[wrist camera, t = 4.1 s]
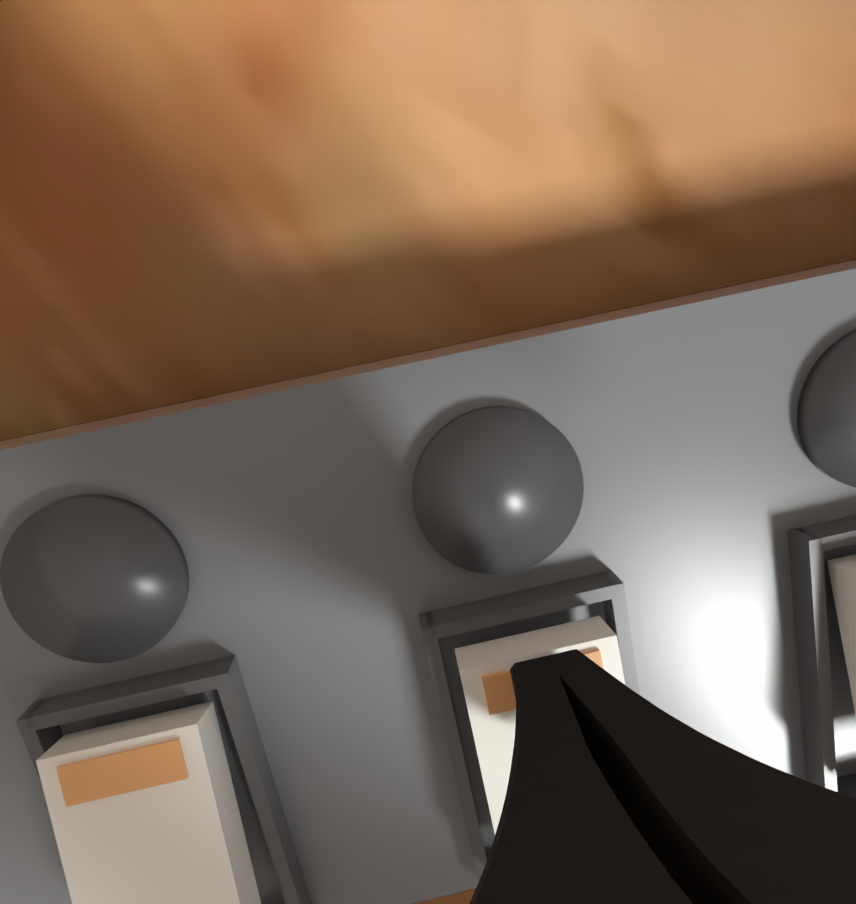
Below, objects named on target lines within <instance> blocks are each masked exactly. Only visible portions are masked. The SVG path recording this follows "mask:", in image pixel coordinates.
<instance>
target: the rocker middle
mask: <svg viewBox="0 0 856 904" xmlns="http://www.w3.org/2000/svg"><path fill="white" fill-rule="evenodd" d="M574 649H577V650H579V651H580V652H581V653H583V654H584V655H586V656H587V657H588V658H590V659H591V660H592V661H594V662H595V663H596V664H597V665H599V666H600V667H601V668H603V669H604V670H605V671H607V672H608V673H609V674H611V675H612V676H614V677H615V678H616V679H618V680H619V681H620V682H622V683H623V684H625V680H624V674H623V669H622V663H621V657H620V652H619V646H618V641H617V635H616V634H615V633H614V632H613V631H612V629H611V628H610V627H609V626H608V625H607V624H606V623H605V621H604V620H603V619H602V618H601V617H600V616H595V617H591V618H587V619H582V620H578V621H573V622H569V623H565V624H560V625H556V626H552V627H547V628H543V629H538V630H534V631H530V632H525V633H521V634H517V635H512V636H508V637H503V638H499V639H495V640H490V641H486V642H482V643H477V644H473V645H468V646H464V647H460V648H455V649H454V650H455V654H456V659H457V664H458V668H459V673H460V677H461V682H462V687H463V691H464V696H465V700H466V705H467V710H468V714H469V719H470V723H471V728H472V733H473V737H474V742H475V746H476V751H477V756H478V760H479V765H480V770H481V774H482V779H483V783H484V788H485V793H486V797H487V802H488V806H489V811H490V816H491V820H492V825H493V829H494V834H496V831H497V827H498V824H499V820H500V817H501V813H502V809H503V805H504V800H505V796H506V792H507V787H508V781H509V776H510V770H511V763H512V755H513V748H514V740H515V722H516V699H515V694H514V689H513V684H512V678H511V673H510V669H511V667H512V666H513V665H514V663H517V662H521V661H526V660H530V659H535V658H539V657H543V656H548V655H552V654H556V653H561V652H565V651H569V650H574Z"/></svg>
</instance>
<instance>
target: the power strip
mask: <svg viewBox="0 0 856 904" xmlns="http://www.w3.org/2000/svg"><path fill="white" fill-rule="evenodd" d="M854 554H856V260H852V261H848V262H843V263H838V264H833V265H829V266H824V267H819V268H815V269H810V270H805V271H800V272H796V273H791V274H786V275H782V276H777V277H772V278H767V279H763V280H758V281H753V282H749V283H744V284H739V285H734V286H730V287H725V288H720V289H716V290H711V291H706V292H701V293H697V294H692V295H687V296H683V297H678V298H673V299H668V300H664V301H659V302H654V303H650V304H645V305H640V306H635V307H631V308H626V309H621V310H617V311H612V312H607V313H602V314H598V315H593V316H588V317H584V318H579V319H574V320H570V321H565V322H560V323H555V324H551V325H546V326H541V327H537V328H532V329H527V330H522V331H518V332H513V333H508V334H504V335H499V336H494V337H489V338H485V339H480V340H475V341H471V342H466V343H461V344H456V345H452V346H447V347H442V348H438V349H433V350H428V351H423V352H419V353H414V354H409V355H405V356H400V357H395V358H390V359H386V360H381V361H376V362H372V363H367V364H362V365H357V366H353V367H348V368H343V369H339V370H334V371H329V372H324V373H320V374H315V375H310V376H306V377H301V378H296V379H291V380H287V381H282V382H277V383H273V384H268V385H263V386H259V387H254V388H249V389H244V390H240V391H235V392H230V393H226V394H221V395H216V396H211V397H207V398H202V399H197V400H193V401H188V402H183V403H178V404H174V405H169V406H164V407H160V408H155V409H150V410H145V411H141V412H136V413H131V414H127V415H122V416H117V417H112V418H108V419H103V420H98V421H94V422H89V423H84V424H79V425H75V426H70V427H65V428H61V429H56V430H51V431H46V432H42V433H37V434H32V435H28V436H23V437H18V438H13V439H9V440H4V441H0V904H72V901H71V897H70V893H69V889H68V885H67V881H66V877H65V873H64V869H63V866H62V862H61V858H60V854H59V850H58V846H57V842H56V838H55V834H54V830H53V826H52V822H51V818H50V814H49V810H48V806H47V803H46V799H45V795H44V791H43V787H42V783H41V779H40V775H39V771H38V767H37V763H36V760H37V759H38V758H40V757H41V756H42V755H43V754H44V753H45V752H46V751H47V750H48V749H49V748H51V747H52V746H53V745H54V744H55V743H56V742H57V741H58V740H59V739H61V738H62V737H63V736H64V735H66V734H70V733H75V732H79V731H84V730H88V729H92V728H97V727H101V726H105V725H110V724H114V723H119V722H123V721H127V720H132V719H136V718H140V717H145V716H149V715H154V714H158V713H162V712H167V711H171V710H175V709H180V708H184V707H189V706H193V705H197V704H202V703H206V702H210V701H213V703H214V707H215V712H216V716H217V720H218V724H219V728H220V733H221V737H222V741H223V745H224V749H225V754H226V758H227V762H228V766H229V770H230V775H231V779H232V783H233V787H234V791H235V796H236V800H237V804H238V808H239V812H240V817H241V821H242V825H243V829H244V833H245V838H246V842H247V846H248V850H249V854H250V859H251V863H252V867H253V871H254V875H255V879H256V884H257V888H258V892H259V896H260V900H261V904H414V903H418V902H422V901H426V900H430V899H434V898H438V897H443V896H447V895H451V894H455V893H459V892H463V891H467V890H471V889H476V887H477V885H478V882H479V880H480V877H481V875H482V873H483V870H484V868H485V865H486V862H487V859H488V856H489V853H490V850H491V847H492V844H493V841H494V837H495V834H494V829H493V825H492V820H491V816H490V811H489V806H488V802H487V797H486V793H485V788H484V783H483V779H482V774H481V770H480V765H479V760H478V756H477V751H476V746H475V742H474V737H473V733H472V728H471V723H470V719H469V714H468V710H467V705H466V700H465V696H464V691H463V687H462V682H461V677H460V673H459V668H458V664H457V659H456V654H455V650H454V649H455V648H460V647H464V646H468V645H473V644H477V643H482V642H486V641H490V640H495V639H499V638H503V637H508V636H512V635H517V634H521V633H525V632H530V631H534V630H538V629H543V628H547V627H552V626H556V625H560V624H565V623H569V622H573V621H578V620H582V619H587V618H591V617H595V616H600V617H601V618H602V619H603V620H604V621H605V623H606V624H607V625H608V626H609V627H610V628H611V629H612V631H613V632H614V633H615V634H616V635H617V641H618V646H619V652H620V657H621V663H622V669H623V674H624V680H625V685H626V686H627V687H629V688H630V689H632V690H633V691H634V692H636V693H637V694H639V695H640V696H642V697H643V698H645V699H646V700H648V701H649V702H651V703H652V704H654V705H655V706H657V707H658V708H660V709H661V710H663V711H665V712H666V713H668V714H669V715H671V716H673V717H674V718H676V719H678V720H680V721H681V722H683V723H685V724H686V725H688V726H690V727H691V728H693V729H695V730H697V731H698V732H700V733H702V734H704V735H706V736H708V737H710V738H712V739H713V740H715V741H718V742H720V743H722V744H724V745H726V746H728V747H730V748H732V749H734V750H736V751H738V752H740V753H742V754H744V755H746V756H748V757H750V758H753V759H755V760H757V761H759V762H762V763H764V764H766V765H769V766H771V767H773V768H776V769H778V770H781V771H783V772H786V773H788V774H791V775H793V776H796V777H798V778H801V779H803V780H806V781H808V782H811V783H813V784H816V785H819V786H822V787H824V788H827V789H830V790H833V791H836V792H839V793H842V794H844V795H847V796H850V797H854V798H856V715H855V709H854V704H853V698H852V693H851V688H850V682H849V677H848V671H847V666H846V661H845V655H844V650H843V645H842V639H841V634H840V628H839V623H838V618H837V612H836V607H835V601H834V596H833V591H832V585H831V580H830V575H829V569H828V564H827V561H828V560H832V559H836V558H841V557H845V556H849V555H854Z"/></svg>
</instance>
